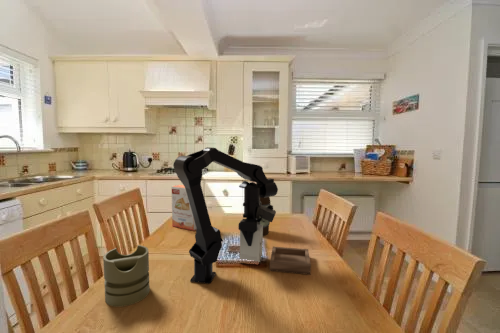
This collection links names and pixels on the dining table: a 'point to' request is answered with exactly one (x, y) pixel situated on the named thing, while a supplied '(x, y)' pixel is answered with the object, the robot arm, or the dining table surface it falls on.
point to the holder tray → (290, 260)
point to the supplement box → (252, 246)
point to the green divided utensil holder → (126, 277)
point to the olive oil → (263, 222)
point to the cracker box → (181, 209)
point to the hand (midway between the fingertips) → (251, 241)
